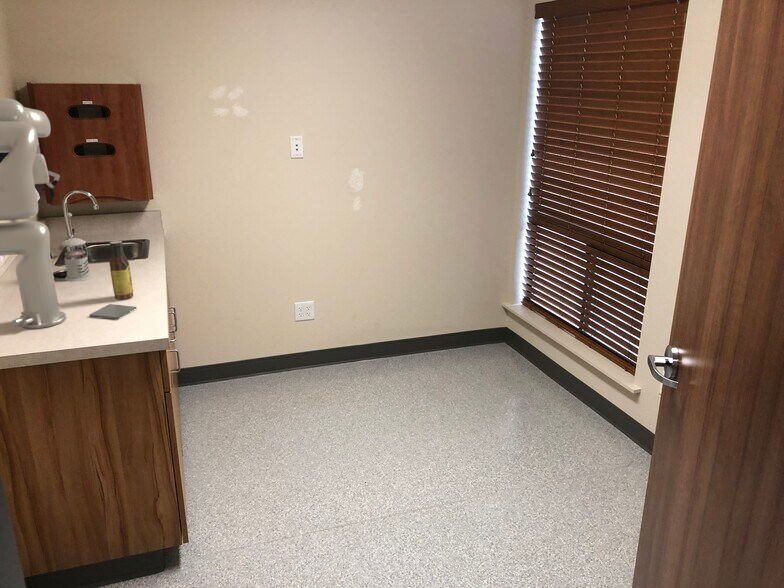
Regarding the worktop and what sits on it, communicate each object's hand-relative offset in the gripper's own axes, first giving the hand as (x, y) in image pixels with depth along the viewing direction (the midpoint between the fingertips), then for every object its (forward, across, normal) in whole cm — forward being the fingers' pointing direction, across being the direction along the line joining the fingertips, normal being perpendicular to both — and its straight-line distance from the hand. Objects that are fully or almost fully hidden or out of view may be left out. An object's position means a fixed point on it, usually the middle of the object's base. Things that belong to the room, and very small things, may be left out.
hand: (36, 200), depth 212 cm
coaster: (+31, +14, -45) cm, 57 cm away
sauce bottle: (+31, +20, -31) cm, 48 cm away
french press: (+31, +10, +2) cm, 33 cm away
